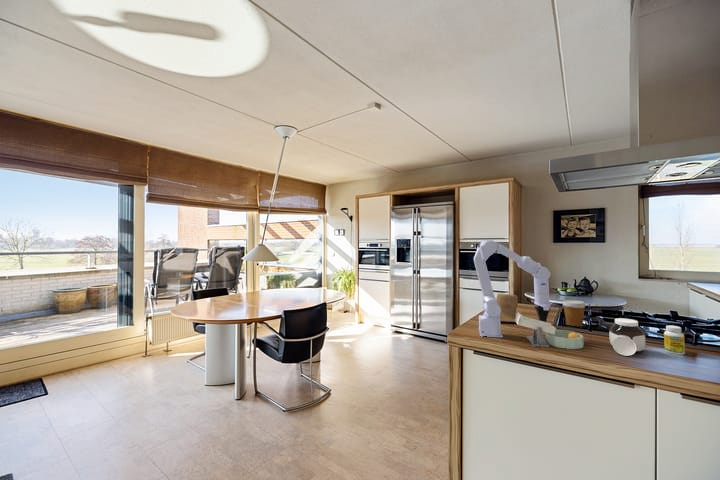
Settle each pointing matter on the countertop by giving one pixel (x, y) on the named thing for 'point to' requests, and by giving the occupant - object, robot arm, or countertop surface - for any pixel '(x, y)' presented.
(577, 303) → the disposable coffee cup
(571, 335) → the ball
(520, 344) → the countertop surface
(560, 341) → the green round bowl
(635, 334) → the spread jar
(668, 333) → the supplement bottle
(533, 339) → the launcher stand
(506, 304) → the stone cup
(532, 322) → the tipping trough
